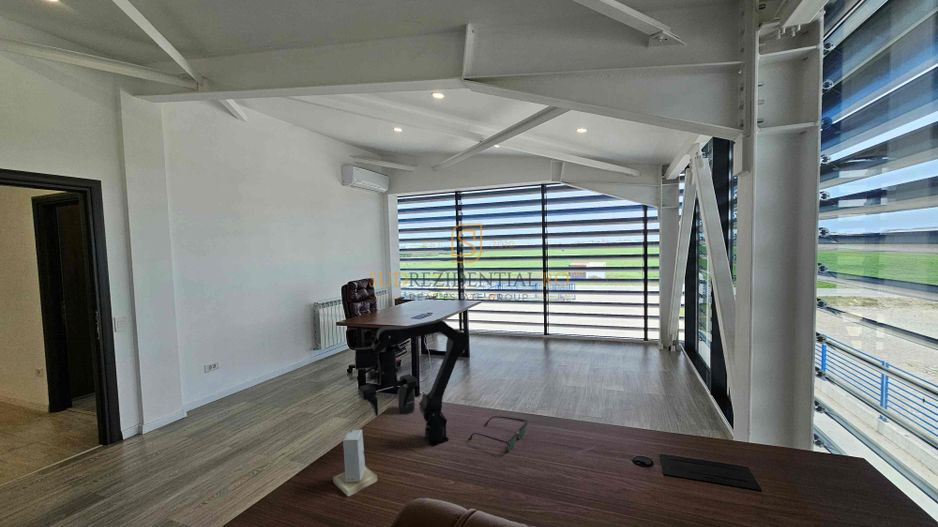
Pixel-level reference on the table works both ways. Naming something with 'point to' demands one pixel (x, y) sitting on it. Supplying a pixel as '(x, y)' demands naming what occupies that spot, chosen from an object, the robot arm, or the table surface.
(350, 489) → the plinth
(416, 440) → the table surface
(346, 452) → the skincare box
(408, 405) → the supplement bottle
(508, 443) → the sunglasses
